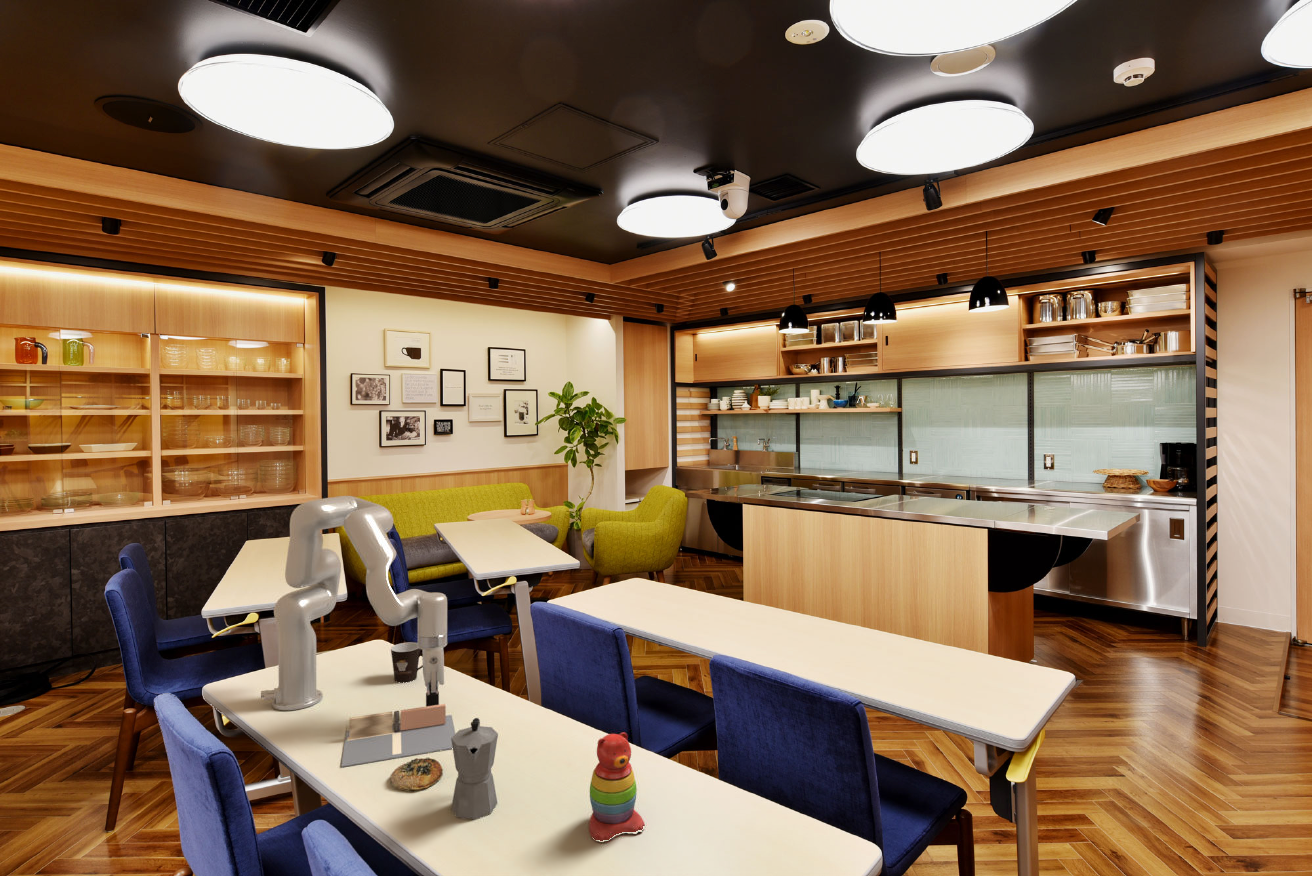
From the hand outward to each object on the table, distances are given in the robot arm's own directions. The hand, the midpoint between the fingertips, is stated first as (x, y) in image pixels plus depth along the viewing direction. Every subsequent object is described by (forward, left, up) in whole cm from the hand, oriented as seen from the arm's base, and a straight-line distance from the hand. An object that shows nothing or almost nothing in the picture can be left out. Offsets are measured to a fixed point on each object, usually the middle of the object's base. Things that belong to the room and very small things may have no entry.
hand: (432, 707), depth 178 cm
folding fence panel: (-3, -5, -3) cm, 6 cm away
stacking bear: (+31, -62, -3) cm, 69 cm away
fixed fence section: (-15, -5, -3) cm, 16 cm away
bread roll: (-5, -30, -4) cm, 31 cm away
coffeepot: (+6, -45, -3) cm, 45 cm away
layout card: (-8, -9, -3) cm, 13 cm away
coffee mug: (-5, +31, -3) cm, 32 cm away
